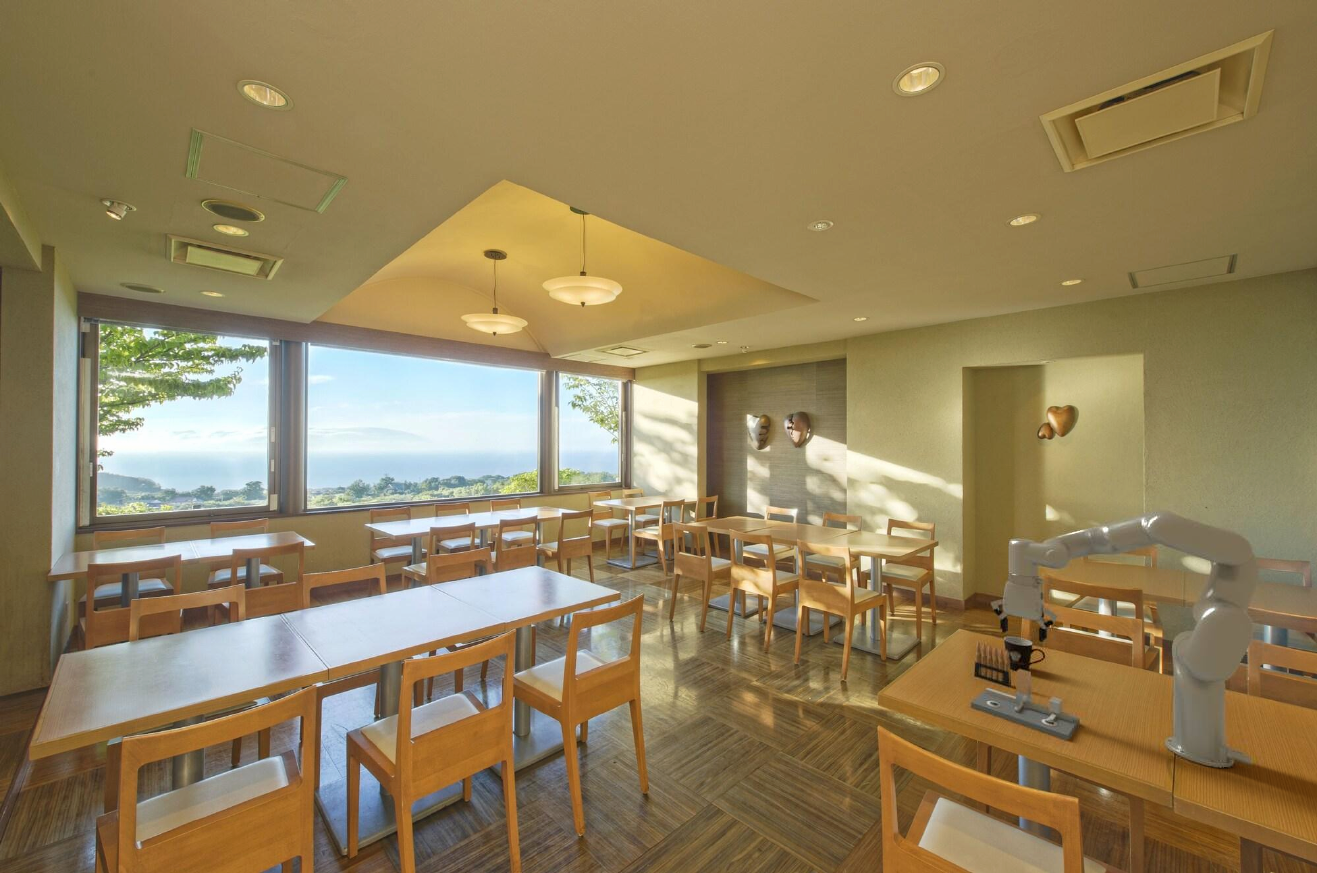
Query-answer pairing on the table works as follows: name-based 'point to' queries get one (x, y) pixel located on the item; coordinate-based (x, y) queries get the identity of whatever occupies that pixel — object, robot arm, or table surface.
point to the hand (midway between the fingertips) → (1023, 636)
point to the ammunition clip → (992, 666)
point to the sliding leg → (1023, 688)
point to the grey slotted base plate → (1028, 713)
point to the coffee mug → (1020, 653)
